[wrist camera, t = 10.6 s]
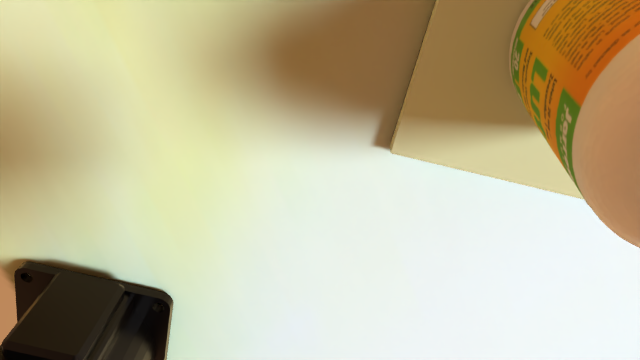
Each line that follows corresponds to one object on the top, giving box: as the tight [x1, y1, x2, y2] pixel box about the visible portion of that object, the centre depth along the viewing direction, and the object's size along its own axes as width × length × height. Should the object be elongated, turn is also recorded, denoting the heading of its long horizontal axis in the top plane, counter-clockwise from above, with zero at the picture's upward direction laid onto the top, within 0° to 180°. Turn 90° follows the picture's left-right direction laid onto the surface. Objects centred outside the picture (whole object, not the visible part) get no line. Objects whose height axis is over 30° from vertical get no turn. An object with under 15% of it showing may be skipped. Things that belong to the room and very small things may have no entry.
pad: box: [390, 0, 584, 199], centre depth 17 cm, size 10×10×1 cm
